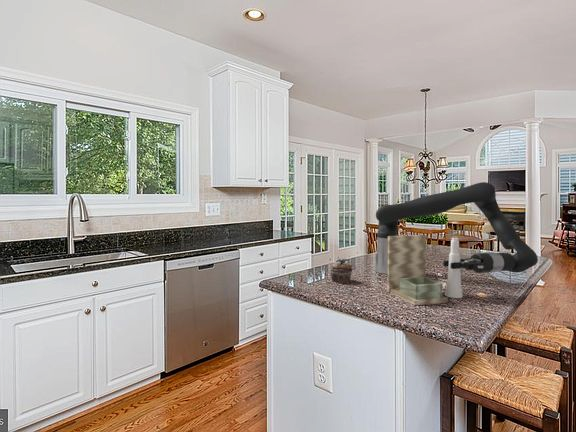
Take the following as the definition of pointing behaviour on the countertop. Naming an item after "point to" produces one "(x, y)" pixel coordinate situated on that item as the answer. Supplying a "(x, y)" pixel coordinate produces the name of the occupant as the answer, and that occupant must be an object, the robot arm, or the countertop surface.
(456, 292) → the cosmetic bottle
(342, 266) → the cupcake
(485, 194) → the robot arm
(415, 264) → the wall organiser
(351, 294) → the countertop surface
